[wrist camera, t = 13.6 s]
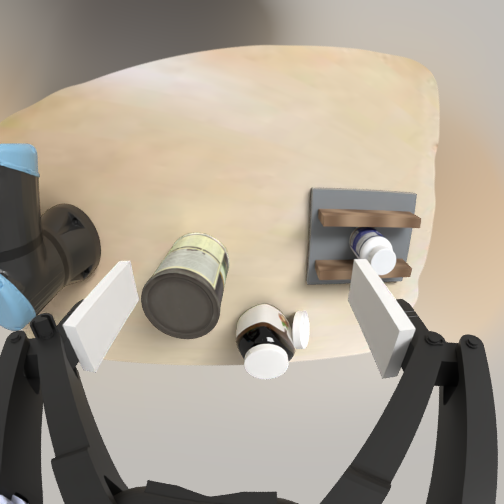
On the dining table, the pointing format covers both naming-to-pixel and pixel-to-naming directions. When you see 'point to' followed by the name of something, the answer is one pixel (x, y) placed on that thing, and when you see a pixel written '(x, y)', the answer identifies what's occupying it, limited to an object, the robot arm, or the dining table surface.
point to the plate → (337, 238)
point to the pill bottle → (373, 249)
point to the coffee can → (187, 287)
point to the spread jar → (270, 340)
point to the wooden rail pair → (362, 219)
